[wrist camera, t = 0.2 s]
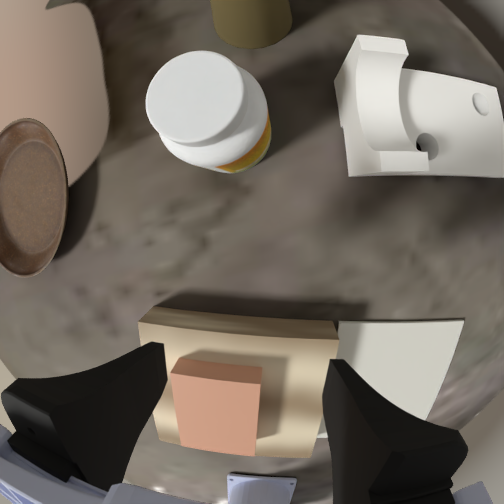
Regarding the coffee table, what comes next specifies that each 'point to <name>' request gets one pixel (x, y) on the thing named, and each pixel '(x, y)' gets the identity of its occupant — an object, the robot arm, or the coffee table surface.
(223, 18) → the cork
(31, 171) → the saucer
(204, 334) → the beige flat block
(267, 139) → the supplement bottle
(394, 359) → the mat
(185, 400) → the tile
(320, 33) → the coffee table surface
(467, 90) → the bracket
